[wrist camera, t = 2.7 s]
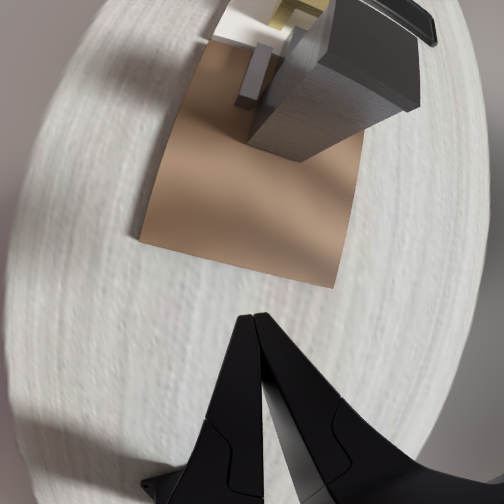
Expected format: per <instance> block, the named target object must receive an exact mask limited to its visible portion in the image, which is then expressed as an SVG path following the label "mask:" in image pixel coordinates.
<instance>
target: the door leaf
mask: <svg viewBox="0 0 504 504" xmlns="http://www.w3.org/2000/svg"><path fill="white" fill-rule="evenodd" d="M251 54H252V51H249V50H246V49H242V48H239V47H236V46H233V45H229V44H226V43H222V42H219V41H215V40H211V39H210V40H209V42H208V44H207V46H206V48H205V51H204V53H203V55H202V57H201V59H200V62H199V64H198V66H197V68H196V71H195V73H194V75H193V78H192V80H191V82H190V85H189V87H188V90H187V92H186V95H185V97H184V100H183V102H182V105H181V107H180V110H179V112H178V115H177V118H176V120H175V123H174V126H173V129H172V131H171V134H170V137H169V140H168V143H167V146H166V149H165V152H164V155H163V158H162V161H161V164H160V167H159V170H158V173H157V177H156V180H155V183H154V187H153V190H152V193H151V197H150V200H149V204H148V208H147V211H146V215H145V219H144V223H143V226H142V230H141V234H140V238H139V242H141V243H145V244H149V245H153V246H157V247H161V248H165V249H168V250H172V251H176V252H180V253H184V254H188V255H192V256H196V257H200V258H205V259H209V260H213V261H217V262H221V263H225V264H229V265H233V266H237V267H241V268H246V269H250V270H254V271H258V272H262V273H267V274H271V275H275V276H279V277H284V278H288V279H292V280H296V281H301V282H305V283H309V284H314V285H318V286H323V287H327V288H331V289H333V288H334V284H335V280H336V276H337V272H338V268H339V263H340V259H341V255H342V251H343V246H344V242H345V237H346V233H347V228H348V223H349V218H350V213H351V208H352V203H353V198H354V193H355V187H356V181H357V176H358V170H359V164H360V157H361V151H362V144H363V137H364V130H362V131H360V132H358V133H356V134H354V135H352V136H351V137H349V138H347V139H345V140H343V141H341V142H339V143H337V144H335V145H333V146H331V147H329V148H327V149H326V150H324V151H322V152H320V153H318V154H316V155H314V156H312V157H311V158H309V159H307V160H305V161H303V162H301V163H299V162H296V161H293V160H291V159H288V158H285V157H282V156H280V155H277V154H274V153H271V152H268V151H265V150H262V149H259V148H256V147H253V146H250V145H247V144H246V143H247V140H248V136H249V133H250V130H251V126H252V123H253V119H254V116H255V112H256V109H257V106H258V102H259V99H260V96H261V94H262V93H263V92H264V90H265V89H266V87H267V86H268V84H269V83H270V81H271V80H272V79H273V76H274V73H275V69H276V66H277V63H278V61H277V60H274V59H272V58H270V60H269V63H268V66H267V69H266V72H265V75H264V79H263V82H262V85H261V88H260V91H259V95H258V98H257V101H256V102H255V104H254V105H253V107H252V108H251V110H250V111H249V110H246V109H243V108H240V107H237V106H234V103H235V100H236V97H237V94H238V91H239V88H240V85H241V82H242V79H243V76H244V74H245V71H246V68H247V65H248V62H249V60H250V57H251Z"/></svg>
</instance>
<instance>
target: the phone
mask: <svg viewBox="0 0 504 504" xmlns="http://www.w3.org/2000/svg"><path fill="white" fill-rule="evenodd" d="M363 1H364V2H366V3H368V4H370V5H371V6H373V7H375V8H376V9H378V10H379V11H381V12H383V13H384V14H386V15H387V16H389V17H390V18H392V19H393V20H395V21H396V22H398V23H399V24H401V25H402V26H404V27H405V28H406V29H408V30H409V31H411V32H412V33H413V34H415V35H416V36H417V37H419V38H420V39H421V40H423V41H424V42H425V43H426V44H428V45H429V46H430V47H434V46H436V45H437V44H438V42H437V35H436V29H435V23H434V19H433V17H432V16H431V15H430V14H429V13H428V12H427V11H426V10H425V9H423V8H422V7H421V6H419V5H418V4H417V3H415V2H414V1H413V0H363Z"/></svg>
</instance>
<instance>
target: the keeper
mask: <svg viewBox="0 0 504 504" xmlns="http://www.w3.org/2000/svg"><path fill="white" fill-rule="evenodd" d="M328 5H329V0H278V1H277V3H276V6H275V8H274V11H273V13H272V16H271V18H270V21H269V24H268V27H271V28H274V29H277V30H279V31H281V30H282V29H283V27H284V26H285V24H286V23H287V21H288V19H289V18H290V16H291V15H292V13H293V12H294V10H295V9H298V10H300V11H303V12H305V13H307V14H310V15H312V16H314V17H316V18H319V16H320V15H321V14H322V13H323V11H324V10H325V9H326V8H327V7H328Z"/></svg>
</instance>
